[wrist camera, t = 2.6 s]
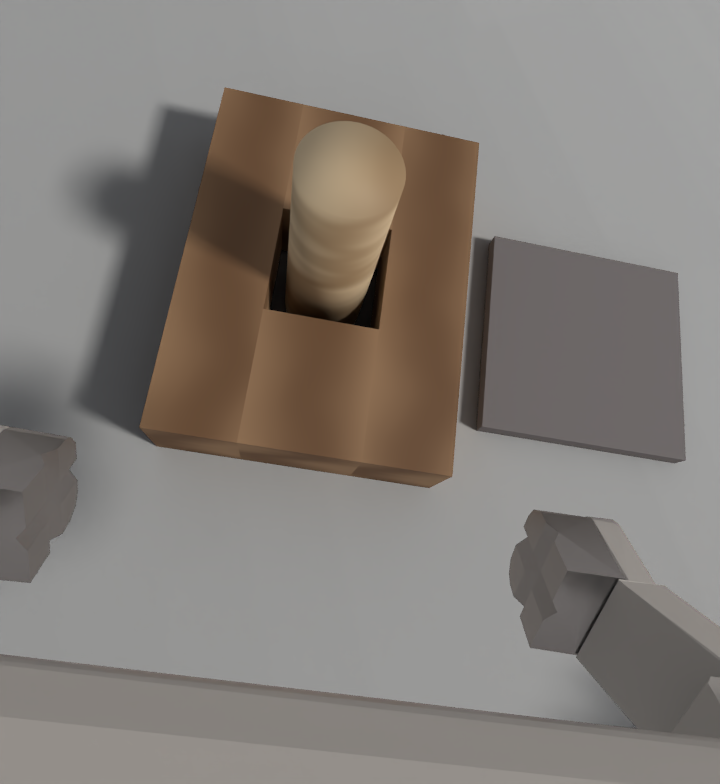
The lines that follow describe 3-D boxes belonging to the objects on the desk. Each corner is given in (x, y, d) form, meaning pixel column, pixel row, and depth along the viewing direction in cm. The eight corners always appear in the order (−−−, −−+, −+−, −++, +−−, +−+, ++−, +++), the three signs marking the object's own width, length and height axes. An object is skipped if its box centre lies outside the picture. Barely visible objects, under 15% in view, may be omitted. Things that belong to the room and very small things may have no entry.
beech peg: (279, 331, 27) (284, 205, 18) (291, 263, 28) (303, 110, 19) (354, 344, 28) (399, 228, 18) (364, 277, 29) (411, 134, 19)
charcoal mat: (476, 430, 27) (482, 426, 26) (489, 244, 30) (495, 236, 30) (674, 463, 28) (685, 460, 28) (667, 280, 31) (677, 273, 31)
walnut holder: (156, 446, 25) (139, 427, 22) (229, 140, 30) (224, 87, 26) (428, 487, 26) (452, 476, 23) (456, 188, 31) (478, 142, 28)
